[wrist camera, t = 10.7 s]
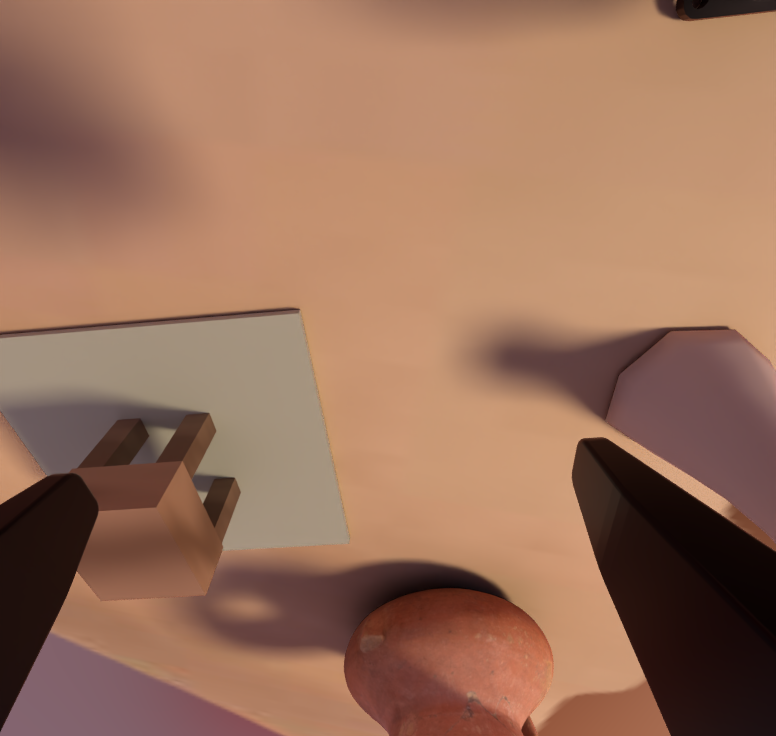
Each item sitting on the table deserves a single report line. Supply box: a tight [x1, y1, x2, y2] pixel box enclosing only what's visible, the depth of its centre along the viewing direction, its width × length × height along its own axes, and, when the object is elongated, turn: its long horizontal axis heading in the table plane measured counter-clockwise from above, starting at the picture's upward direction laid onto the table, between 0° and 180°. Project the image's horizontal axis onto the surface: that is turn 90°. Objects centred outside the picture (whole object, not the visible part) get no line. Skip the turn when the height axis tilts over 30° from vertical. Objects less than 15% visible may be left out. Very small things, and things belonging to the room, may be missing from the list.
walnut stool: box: [69, 413, 241, 601], centre depth 21 cm, size 6×5×6 cm
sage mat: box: [0, 310, 350, 551], centre depth 24 cm, size 16×16×1 cm
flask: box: [605, 329, 776, 543], centre depth 17 cm, size 7×7×10 cm
